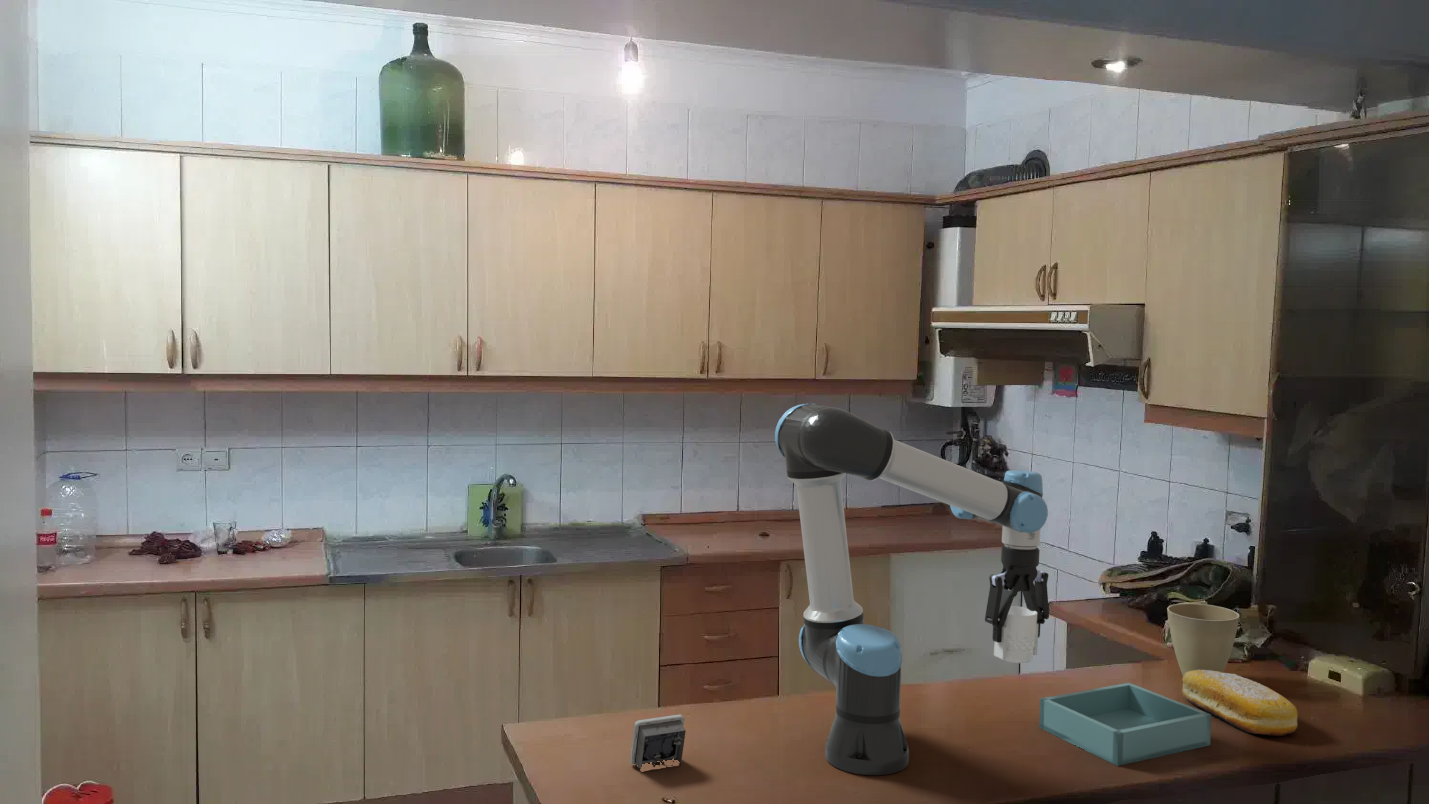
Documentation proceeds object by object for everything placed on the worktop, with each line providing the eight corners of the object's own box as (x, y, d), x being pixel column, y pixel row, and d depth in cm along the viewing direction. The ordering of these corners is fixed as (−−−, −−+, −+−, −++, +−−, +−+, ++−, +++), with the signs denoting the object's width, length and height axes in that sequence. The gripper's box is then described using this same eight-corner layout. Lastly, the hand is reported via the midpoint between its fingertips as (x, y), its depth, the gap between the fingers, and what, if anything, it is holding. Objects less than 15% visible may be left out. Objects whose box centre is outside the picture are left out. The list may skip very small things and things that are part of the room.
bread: (1255, 744, 197) (1257, 703, 197) (1165, 697, 223) (1166, 661, 223) (1313, 738, 200) (1315, 698, 200) (1218, 693, 226) (1219, 658, 226)
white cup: (1043, 662, 210) (1045, 614, 209) (1011, 665, 207) (1014, 617, 206) (1018, 651, 217) (1020, 605, 217) (987, 654, 214) (990, 607, 214)
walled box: (1117, 766, 186) (1118, 733, 185) (1039, 728, 204) (1040, 698, 203) (1210, 745, 196) (1211, 714, 196) (1127, 710, 214) (1128, 682, 214)
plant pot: (1183, 665, 245) (1186, 599, 244) (1248, 681, 233) (1251, 612, 232) (1152, 678, 235) (1154, 609, 234) (1218, 695, 224) (1221, 623, 223)
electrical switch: (677, 757, 188) (679, 709, 186) (688, 771, 183) (690, 722, 182) (629, 765, 184) (630, 716, 183) (638, 779, 179) (640, 729, 178)
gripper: (993, 552, 203) (988, 665, 204) (1071, 546, 212) (1066, 655, 213) (968, 545, 210) (964, 654, 211) (1045, 539, 219) (1040, 645, 220)
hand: (1015, 655), depth 212 cm, fingers closed on white cup, 8 cm apart
